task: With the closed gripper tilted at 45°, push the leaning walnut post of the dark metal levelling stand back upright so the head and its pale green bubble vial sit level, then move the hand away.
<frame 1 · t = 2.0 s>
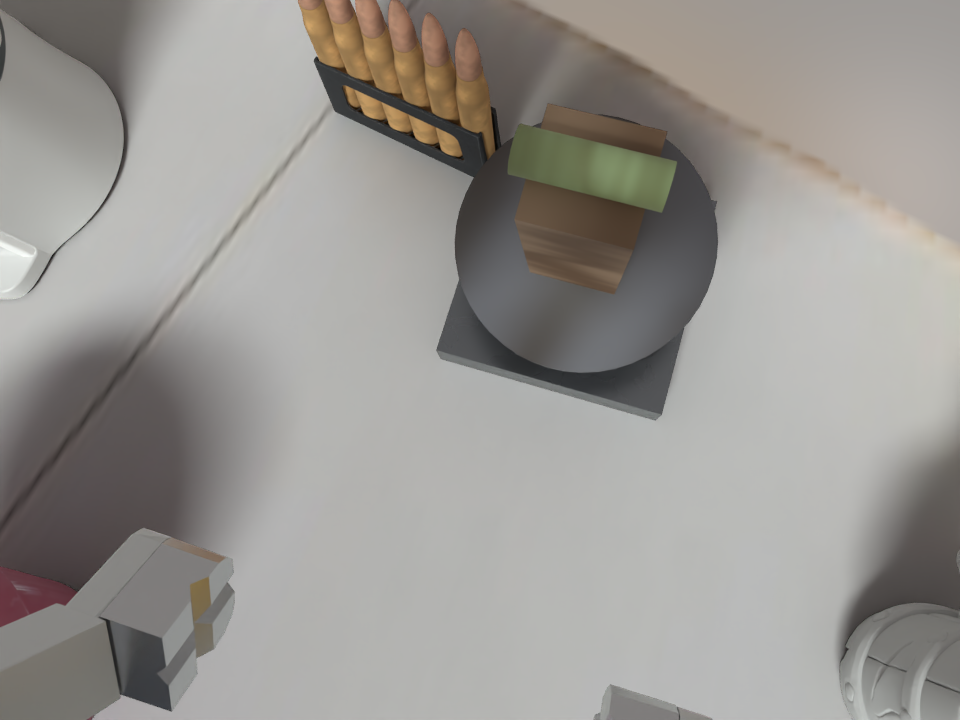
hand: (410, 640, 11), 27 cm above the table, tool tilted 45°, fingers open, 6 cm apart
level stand: (575, 287, 41), on the table
ammunition clip: (417, 135, 44), on the table
mug: (924, 641, 36), on the table
plant pot: (31, 669, 39), on the table
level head: (586, 213, 29), point 12 cm above the table, hinge at 10.0°
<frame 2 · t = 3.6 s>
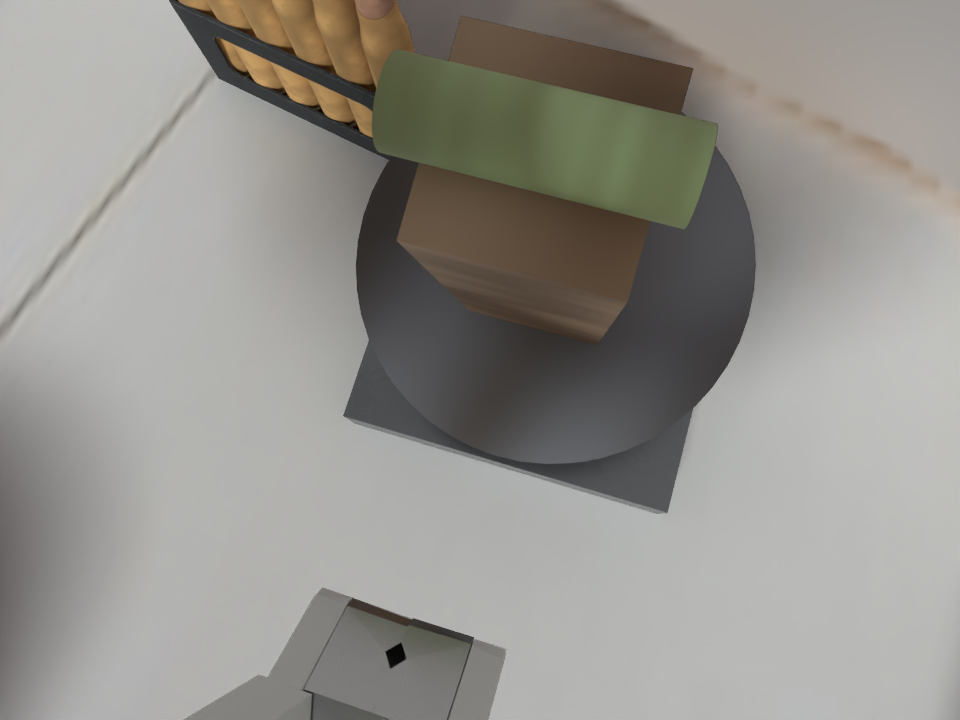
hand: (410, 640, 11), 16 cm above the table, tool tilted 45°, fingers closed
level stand: (545, 321, 29), on the table
ammunition clip: (331, 111, 32), on the table
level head: (547, 223, 17), point 12 cm above the table, hinge at 10.0°
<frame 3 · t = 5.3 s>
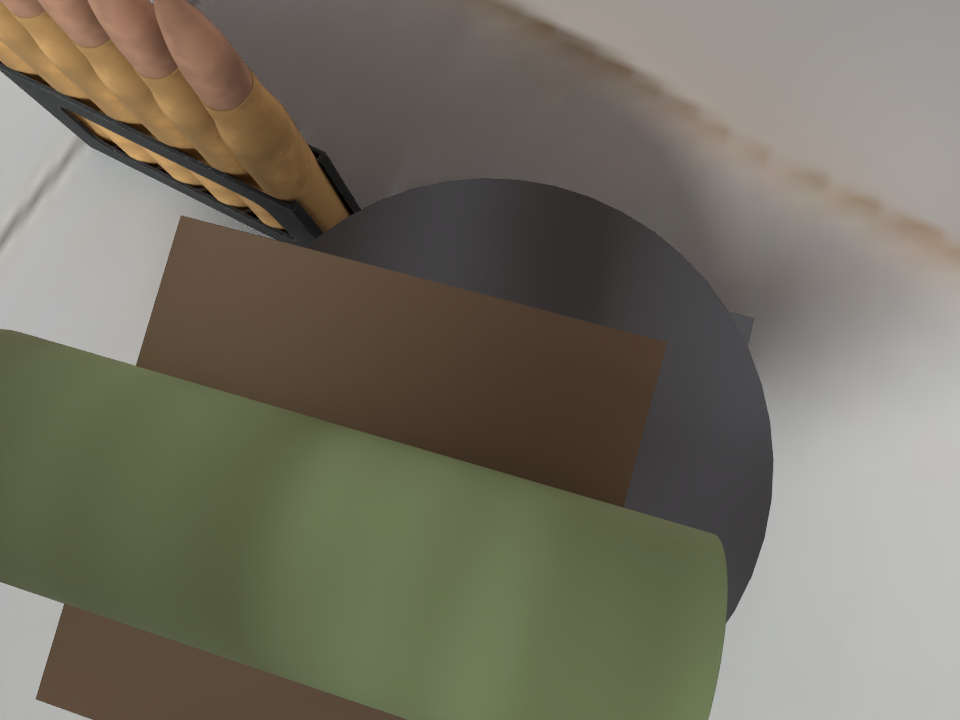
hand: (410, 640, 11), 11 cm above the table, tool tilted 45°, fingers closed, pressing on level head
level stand: (497, 467, 23), on the table
ammunition clip: (229, 187, 25), on the table
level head: (441, 475, 10), point 12 cm above the table, hinge at 7.4°, touching gripper
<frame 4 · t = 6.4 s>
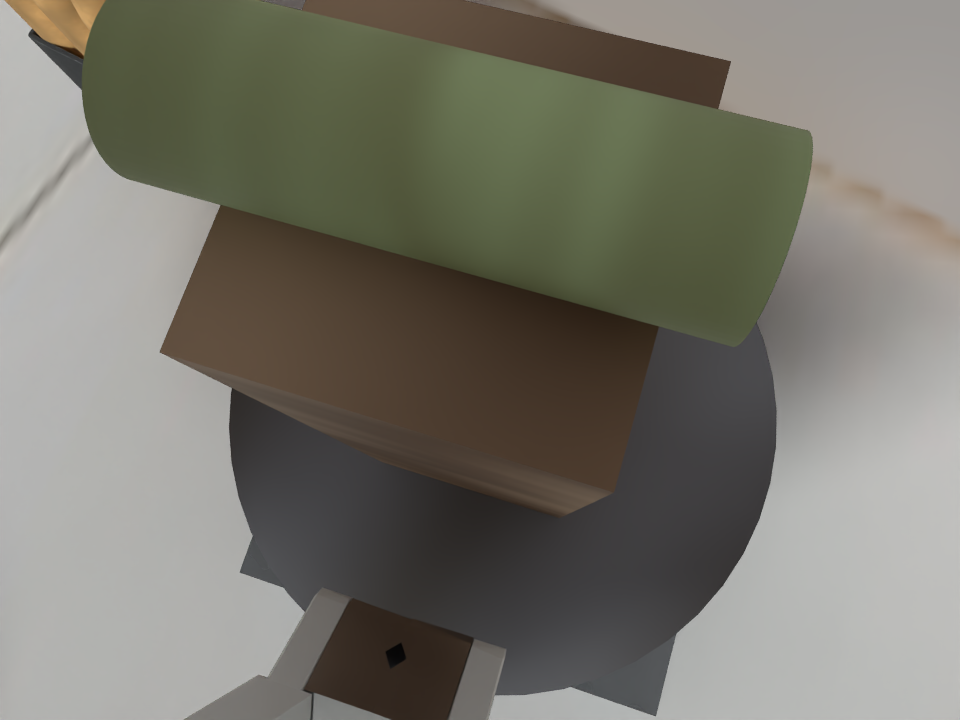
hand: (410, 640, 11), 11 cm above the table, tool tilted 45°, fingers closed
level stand: (506, 440, 23), on the table
ammunition clip: (250, 166, 26), on the table
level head: (483, 341, 11), point 12 cm above the table, hinge at -0.5°
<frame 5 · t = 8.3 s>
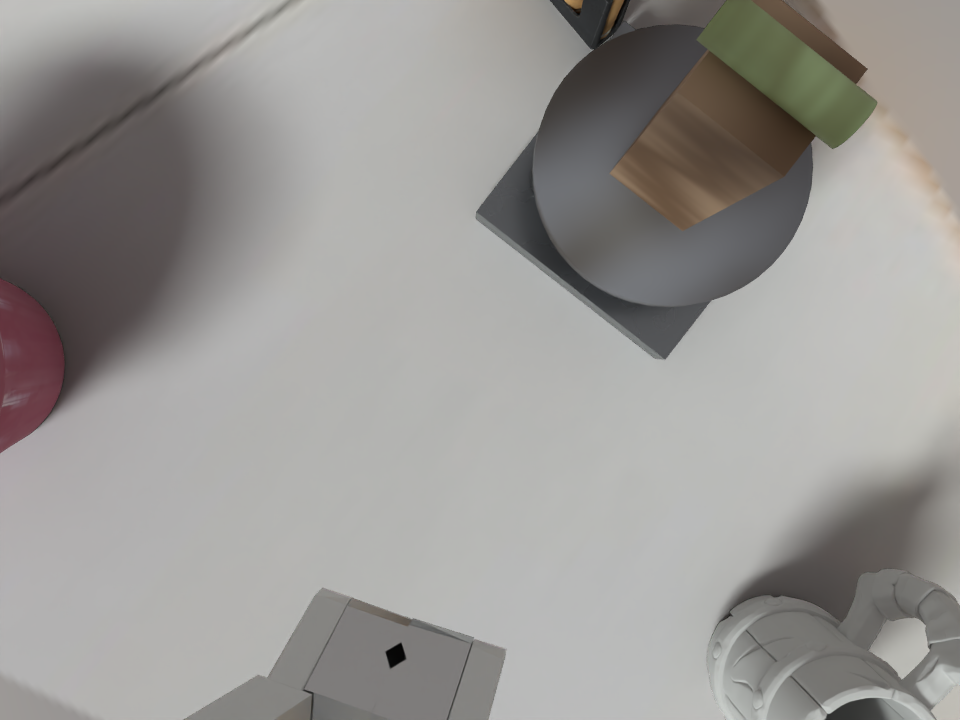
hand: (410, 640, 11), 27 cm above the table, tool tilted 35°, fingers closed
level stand: (635, 198, 39), on the table
mug: (796, 630, 40), on the table
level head: (716, 129, 26), point 12 cm above the table, hinge at -0.5°
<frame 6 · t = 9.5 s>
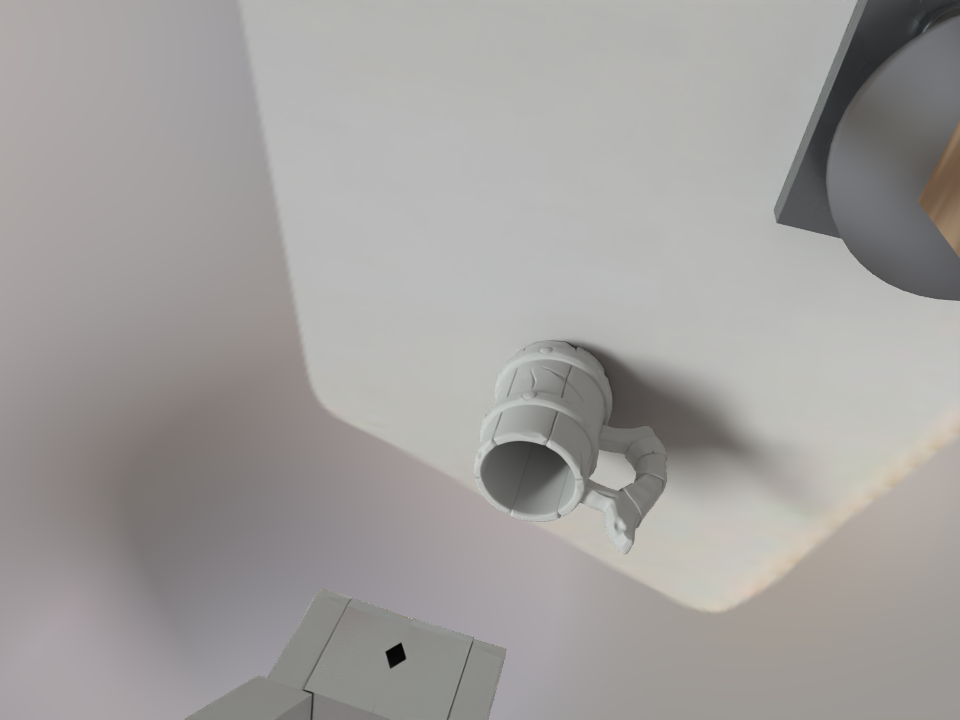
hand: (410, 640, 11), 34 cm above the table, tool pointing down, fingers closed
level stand: (944, 124, 36), on the table
mug: (586, 395, 49), on the table
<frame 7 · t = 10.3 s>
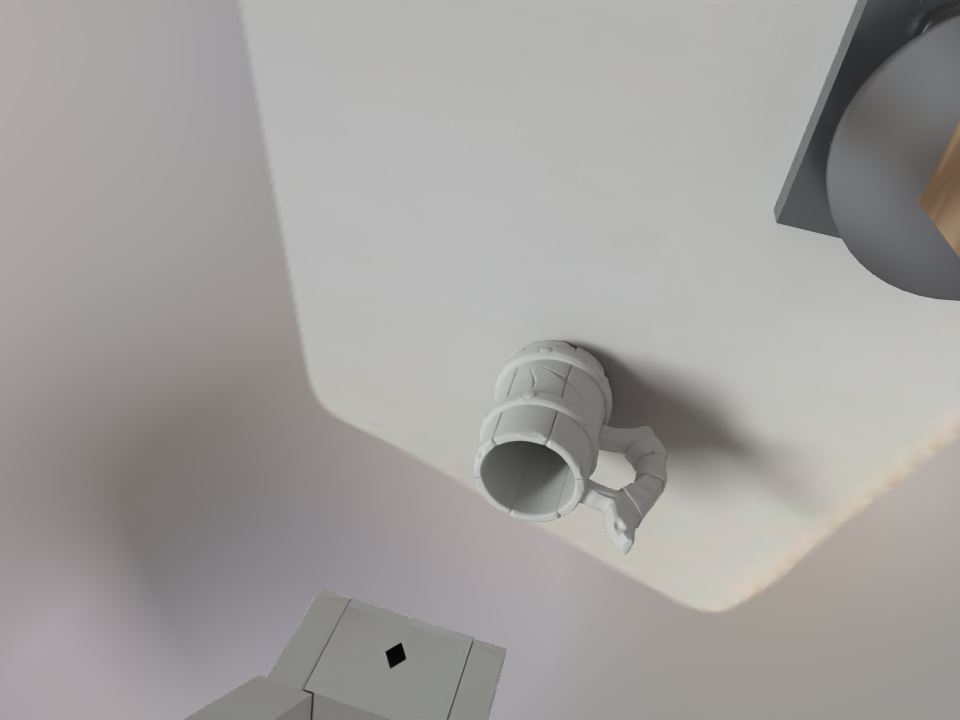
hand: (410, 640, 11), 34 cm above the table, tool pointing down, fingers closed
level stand: (944, 124, 36), on the table
mug: (586, 395, 49), on the table
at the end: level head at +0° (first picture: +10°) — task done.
